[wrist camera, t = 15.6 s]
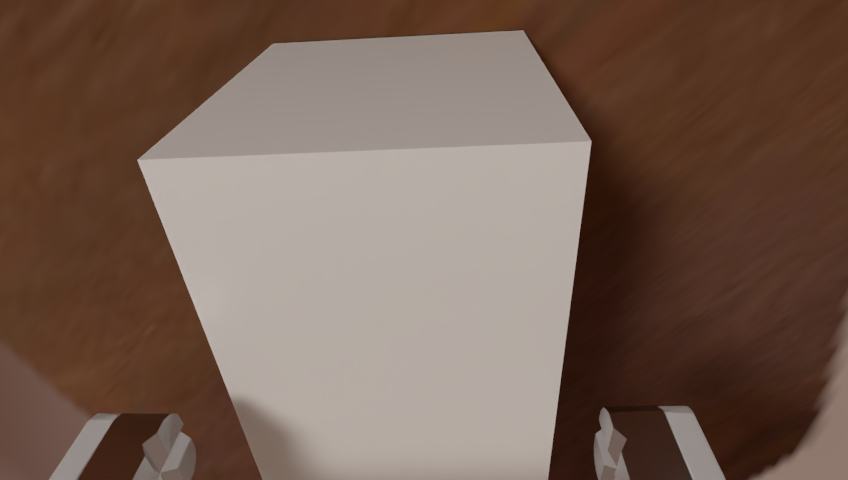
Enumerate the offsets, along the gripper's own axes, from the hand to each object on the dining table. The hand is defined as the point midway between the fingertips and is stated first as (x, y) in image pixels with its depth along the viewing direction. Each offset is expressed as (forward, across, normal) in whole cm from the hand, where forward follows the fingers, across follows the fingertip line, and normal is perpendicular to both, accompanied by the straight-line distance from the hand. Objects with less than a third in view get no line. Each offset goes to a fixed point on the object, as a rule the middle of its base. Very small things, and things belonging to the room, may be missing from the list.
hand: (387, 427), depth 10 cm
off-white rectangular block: (+9, 0, 0) cm, 9 cm away
